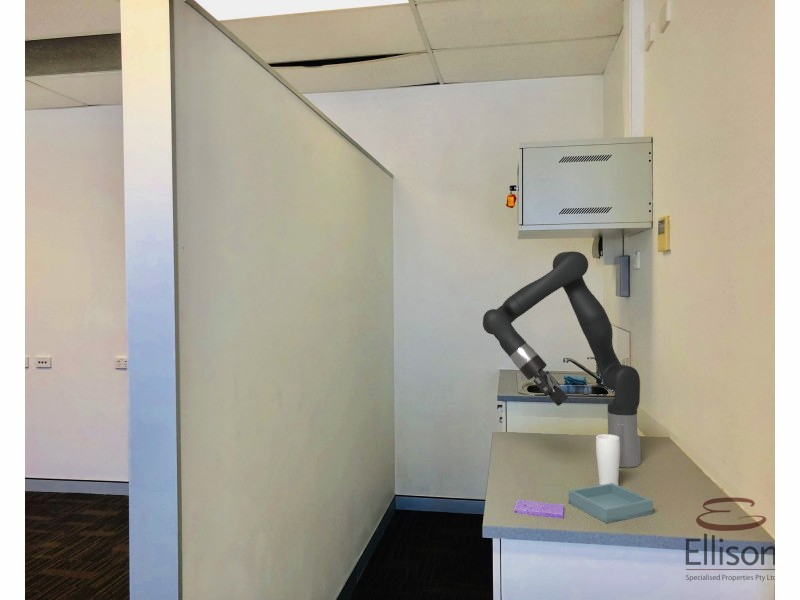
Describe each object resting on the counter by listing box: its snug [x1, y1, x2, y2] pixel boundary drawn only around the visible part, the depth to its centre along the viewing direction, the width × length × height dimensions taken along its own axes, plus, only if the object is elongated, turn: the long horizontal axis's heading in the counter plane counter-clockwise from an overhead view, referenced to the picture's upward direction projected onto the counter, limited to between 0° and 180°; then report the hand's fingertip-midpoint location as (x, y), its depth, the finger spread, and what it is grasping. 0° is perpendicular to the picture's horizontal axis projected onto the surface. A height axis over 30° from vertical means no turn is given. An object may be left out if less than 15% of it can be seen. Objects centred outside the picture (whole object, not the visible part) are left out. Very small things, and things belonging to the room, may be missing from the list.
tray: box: [567, 483, 654, 524], centre depth 151 cm, size 15×15×4 cm
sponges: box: [513, 499, 565, 520], centre depth 150 cm, size 7×13×2 cm, turn 70°
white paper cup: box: [595, 433, 620, 486], centre depth 167 cm, size 7×7×15 cm
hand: (563, 402), depth 173 cm, fingers open, 8 cm apart
